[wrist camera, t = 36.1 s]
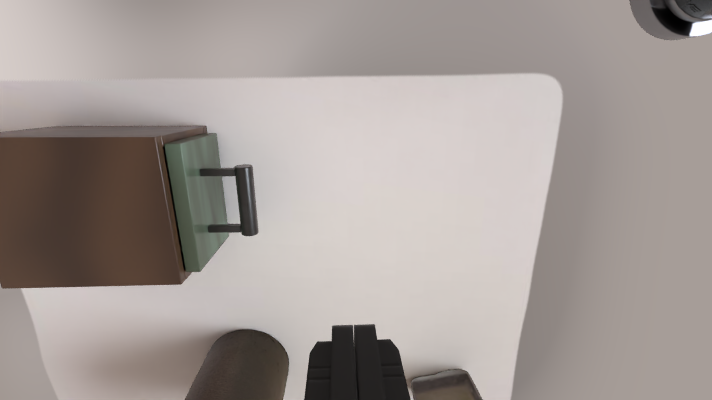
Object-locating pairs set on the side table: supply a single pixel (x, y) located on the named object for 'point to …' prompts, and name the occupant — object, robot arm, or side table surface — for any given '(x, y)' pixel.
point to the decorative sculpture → (445, 386)
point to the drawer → (206, 198)
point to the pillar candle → (242, 369)
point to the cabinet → (88, 207)
